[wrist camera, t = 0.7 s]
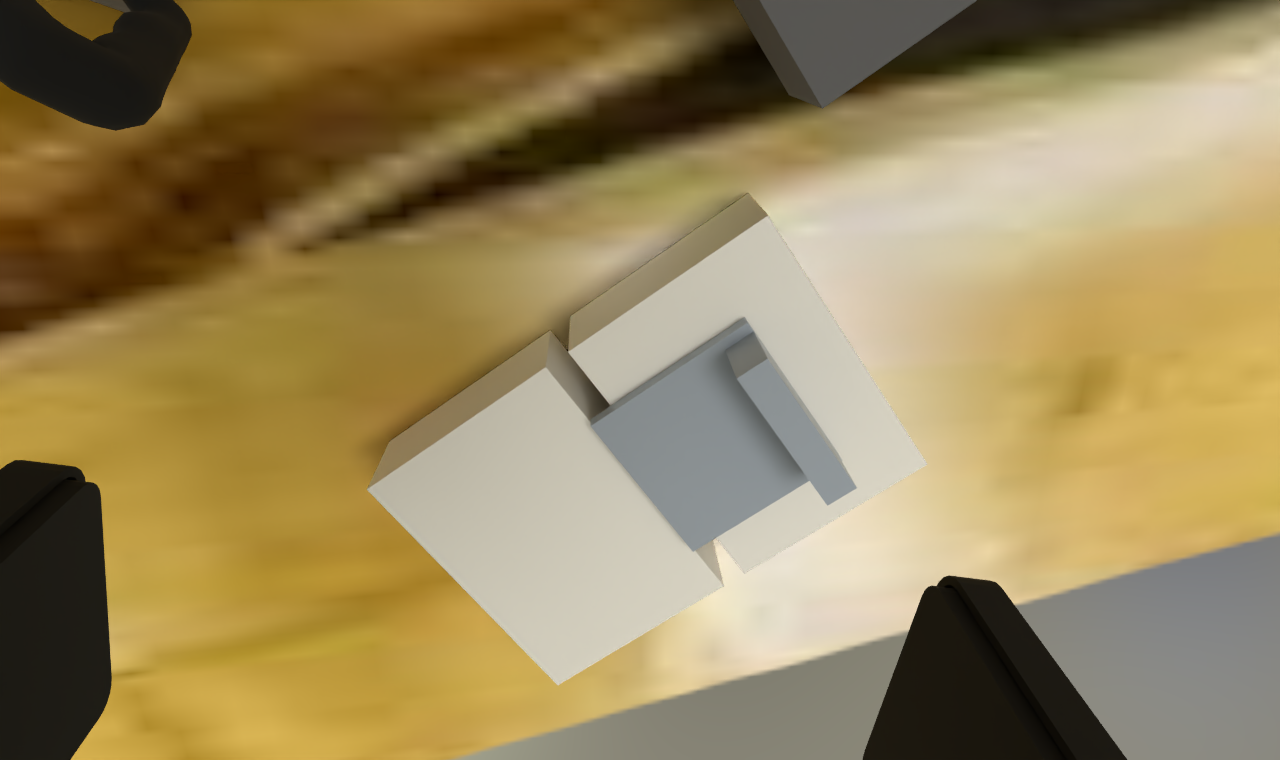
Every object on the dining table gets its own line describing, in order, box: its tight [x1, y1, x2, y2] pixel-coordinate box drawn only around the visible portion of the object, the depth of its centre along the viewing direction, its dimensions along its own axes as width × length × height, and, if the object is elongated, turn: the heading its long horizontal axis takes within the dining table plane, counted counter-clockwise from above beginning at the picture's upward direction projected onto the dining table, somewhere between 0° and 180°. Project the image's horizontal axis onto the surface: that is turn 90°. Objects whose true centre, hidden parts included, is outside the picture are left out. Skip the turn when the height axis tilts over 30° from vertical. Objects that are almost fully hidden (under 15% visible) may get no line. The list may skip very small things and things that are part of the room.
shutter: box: [591, 317, 857, 552], centre depth 31 cm, size 7×7×3 cm
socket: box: [367, 193, 927, 685], centre depth 35 cm, size 18×12×4 cm, turn 125°
